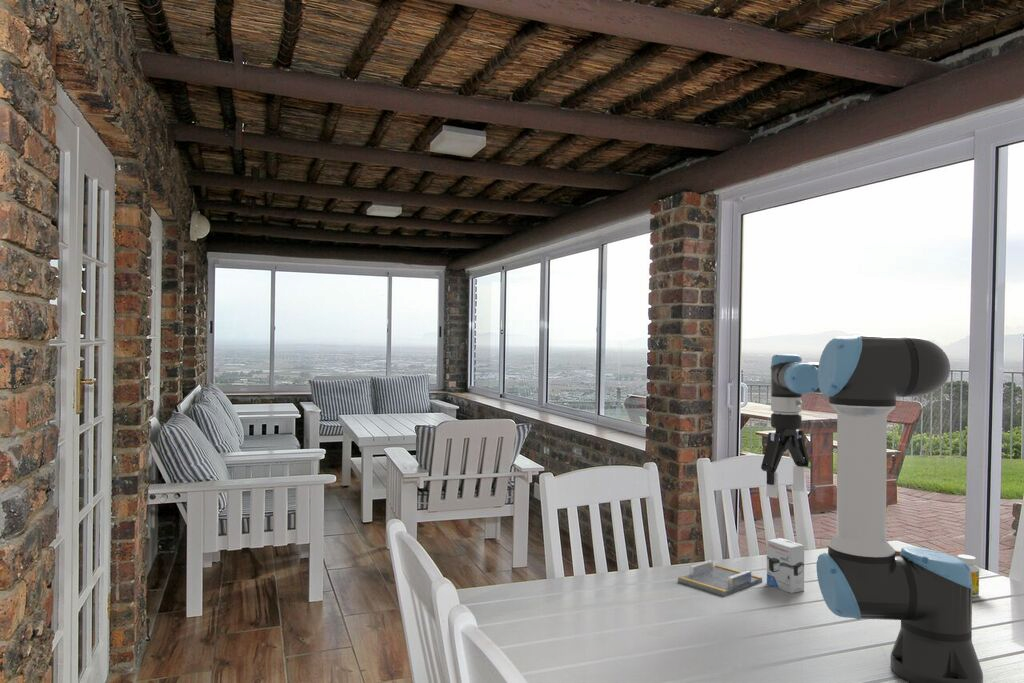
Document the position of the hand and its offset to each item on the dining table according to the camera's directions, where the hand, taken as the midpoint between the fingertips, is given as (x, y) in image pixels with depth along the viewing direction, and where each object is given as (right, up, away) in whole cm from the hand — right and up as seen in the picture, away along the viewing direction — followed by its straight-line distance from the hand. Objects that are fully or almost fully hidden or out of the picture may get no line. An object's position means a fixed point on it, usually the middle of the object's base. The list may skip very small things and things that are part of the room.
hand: (785, 494), depth 184 cm
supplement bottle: (+45, -25, -4) cm, 51 cm away
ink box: (0, -25, 0) cm, 25 cm away
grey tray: (-16, -24, +3) cm, 29 cm away
